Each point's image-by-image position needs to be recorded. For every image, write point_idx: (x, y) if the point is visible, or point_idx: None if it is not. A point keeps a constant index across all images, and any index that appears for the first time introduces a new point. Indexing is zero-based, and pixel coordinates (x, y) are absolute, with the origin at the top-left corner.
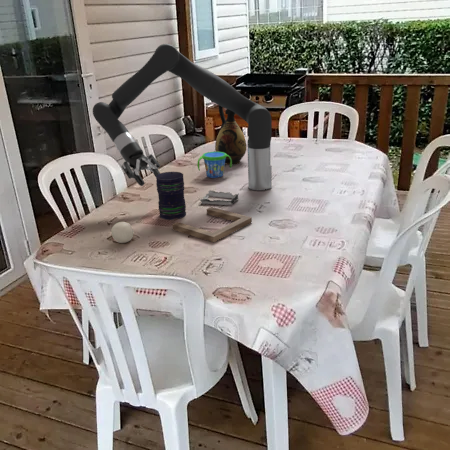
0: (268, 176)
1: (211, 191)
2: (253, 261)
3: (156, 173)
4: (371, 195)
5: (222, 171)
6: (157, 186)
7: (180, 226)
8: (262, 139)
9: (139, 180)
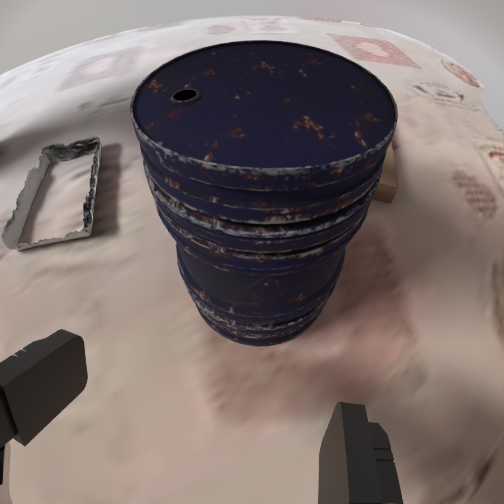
0: None
1: (6, 230)
2: (384, 59)
3: (36, 386)
4: (63, 49)
5: None
6: (373, 196)
7: (392, 159)
8: None
9: (385, 451)
